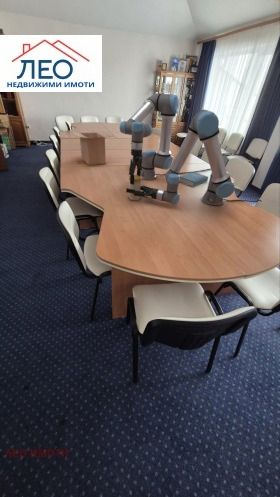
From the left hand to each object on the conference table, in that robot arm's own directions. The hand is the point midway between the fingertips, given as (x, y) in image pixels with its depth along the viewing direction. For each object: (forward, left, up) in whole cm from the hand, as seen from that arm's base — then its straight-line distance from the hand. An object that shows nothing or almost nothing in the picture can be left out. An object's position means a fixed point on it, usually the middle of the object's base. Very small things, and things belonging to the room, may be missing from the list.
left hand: (135, 181), depth 159 cm
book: (-57, -37, -13) cm, 69 cm away
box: (+37, -94, -13) cm, 102 cm away
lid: (0, 0, +3) cm, 3 cm away
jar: (0, 0, -13) cm, 13 cm away
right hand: (+4, -2, -6) cm, 8 cm away
